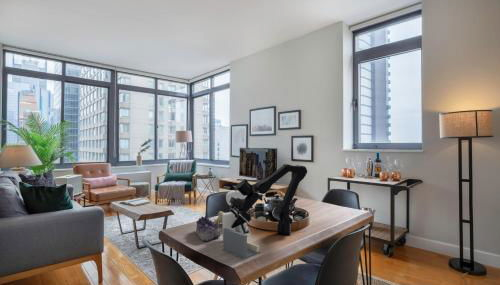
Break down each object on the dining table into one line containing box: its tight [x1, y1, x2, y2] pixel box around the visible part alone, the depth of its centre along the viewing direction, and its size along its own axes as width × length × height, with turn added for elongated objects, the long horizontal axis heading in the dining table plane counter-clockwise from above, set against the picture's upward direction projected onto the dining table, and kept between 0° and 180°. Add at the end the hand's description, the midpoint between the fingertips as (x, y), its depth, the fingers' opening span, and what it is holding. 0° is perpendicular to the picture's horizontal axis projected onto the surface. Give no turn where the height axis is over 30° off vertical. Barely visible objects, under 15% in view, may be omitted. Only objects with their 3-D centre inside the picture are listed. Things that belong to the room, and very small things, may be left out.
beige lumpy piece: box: [212, 210, 225, 225], centre depth 158 cm, size 11×9×9 cm
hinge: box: [235, 217, 251, 234], centre depth 152 cm, size 17×5×10 cm, turn 25°
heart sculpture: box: [225, 189, 246, 206], centre depth 176 cm, size 16×5×18 cm, turn 125°
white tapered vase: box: [221, 211, 236, 235], centre depth 133 cm, size 6×6×14 cm
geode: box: [195, 215, 221, 243], centre depth 143 cm, size 20×12×10 cm, turn 30°
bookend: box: [222, 228, 260, 260], centre depth 121 cm, size 10×14×10 cm
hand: (228, 225), depth 133 cm, fingers open, 9 cm apart
